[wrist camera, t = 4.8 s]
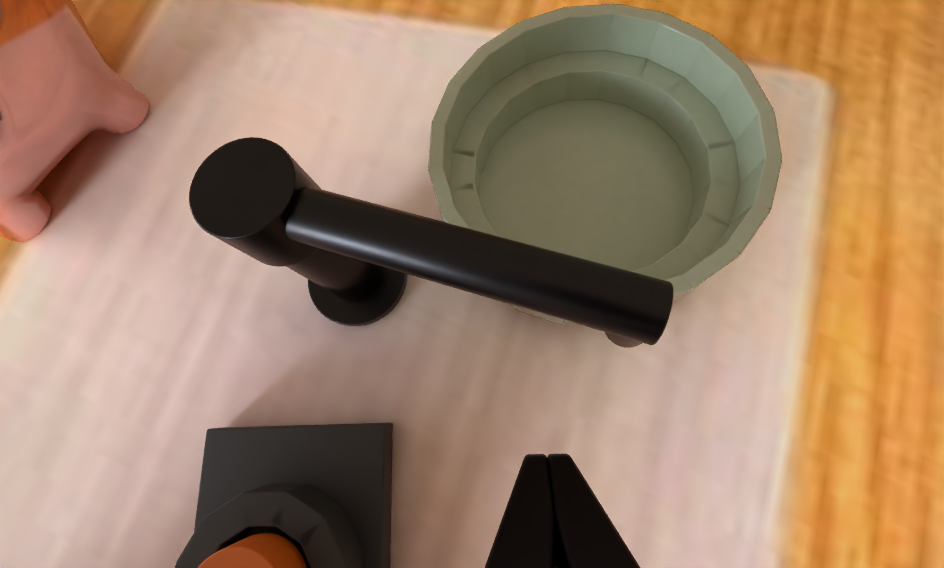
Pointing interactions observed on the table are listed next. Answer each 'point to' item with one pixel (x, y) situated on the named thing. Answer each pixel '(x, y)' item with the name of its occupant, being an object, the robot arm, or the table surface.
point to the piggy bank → (50, 103)
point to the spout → (412, 244)
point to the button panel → (298, 492)
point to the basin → (609, 143)
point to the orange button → (257, 554)
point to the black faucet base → (350, 287)
